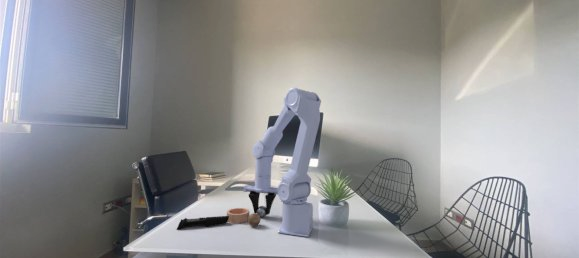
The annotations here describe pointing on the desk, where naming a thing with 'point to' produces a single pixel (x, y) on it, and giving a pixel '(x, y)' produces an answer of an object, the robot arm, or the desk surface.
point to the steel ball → (261, 211)
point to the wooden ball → (254, 220)
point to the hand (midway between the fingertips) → (262, 213)
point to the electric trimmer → (202, 222)
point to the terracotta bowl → (238, 215)
